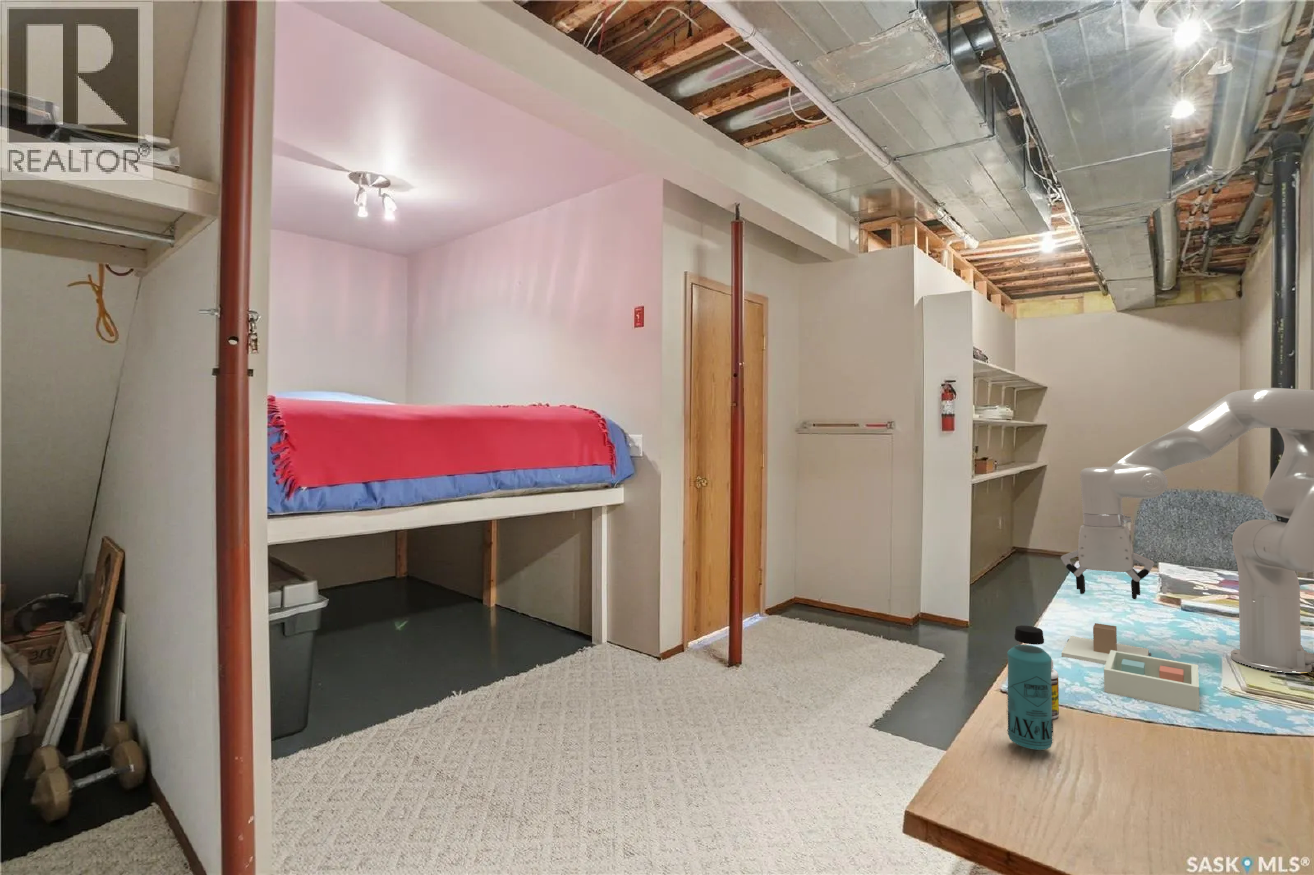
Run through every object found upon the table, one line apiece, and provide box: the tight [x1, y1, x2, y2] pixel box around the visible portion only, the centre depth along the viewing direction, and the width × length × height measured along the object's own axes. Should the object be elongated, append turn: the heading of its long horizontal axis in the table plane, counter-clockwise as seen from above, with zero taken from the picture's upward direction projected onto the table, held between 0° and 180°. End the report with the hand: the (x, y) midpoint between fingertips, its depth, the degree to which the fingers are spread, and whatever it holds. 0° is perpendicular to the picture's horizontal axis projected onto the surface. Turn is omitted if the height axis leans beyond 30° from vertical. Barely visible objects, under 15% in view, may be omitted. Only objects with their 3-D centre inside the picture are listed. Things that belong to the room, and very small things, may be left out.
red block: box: [1159, 666, 1184, 683], centre depth 121 cm, size 4×4×4 cm
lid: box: [1061, 623, 1150, 666], centre depth 140 cm, size 15×15×6 cm
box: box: [1103, 650, 1200, 713], centre depth 121 cm, size 14×14×5 cm
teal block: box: [1121, 659, 1145, 675], centre depth 125 cm, size 4×4×4 cm
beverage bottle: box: [1006, 625, 1054, 751], centre depth 100 cm, size 6×7×20 cm
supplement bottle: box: [1051, 659, 1060, 720], centre depth 113 cm, size 6×6×10 cm
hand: (1108, 595), depth 140 cm, fingers open, 9 cm apart
